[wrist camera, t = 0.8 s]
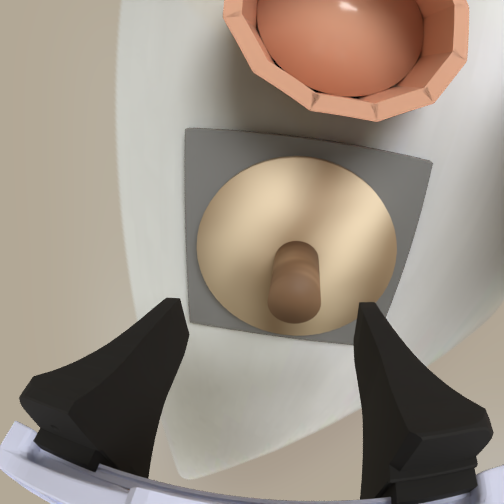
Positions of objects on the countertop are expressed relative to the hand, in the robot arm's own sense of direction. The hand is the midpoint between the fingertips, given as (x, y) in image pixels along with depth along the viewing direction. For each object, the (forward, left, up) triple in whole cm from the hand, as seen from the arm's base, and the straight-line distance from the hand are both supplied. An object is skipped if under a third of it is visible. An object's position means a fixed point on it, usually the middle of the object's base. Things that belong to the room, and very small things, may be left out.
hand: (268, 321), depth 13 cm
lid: (-1, +2, -9) cm, 9 cm away
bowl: (-2, -13, -10) cm, 16 cm away
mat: (-1, +2, -10) cm, 10 cm away
